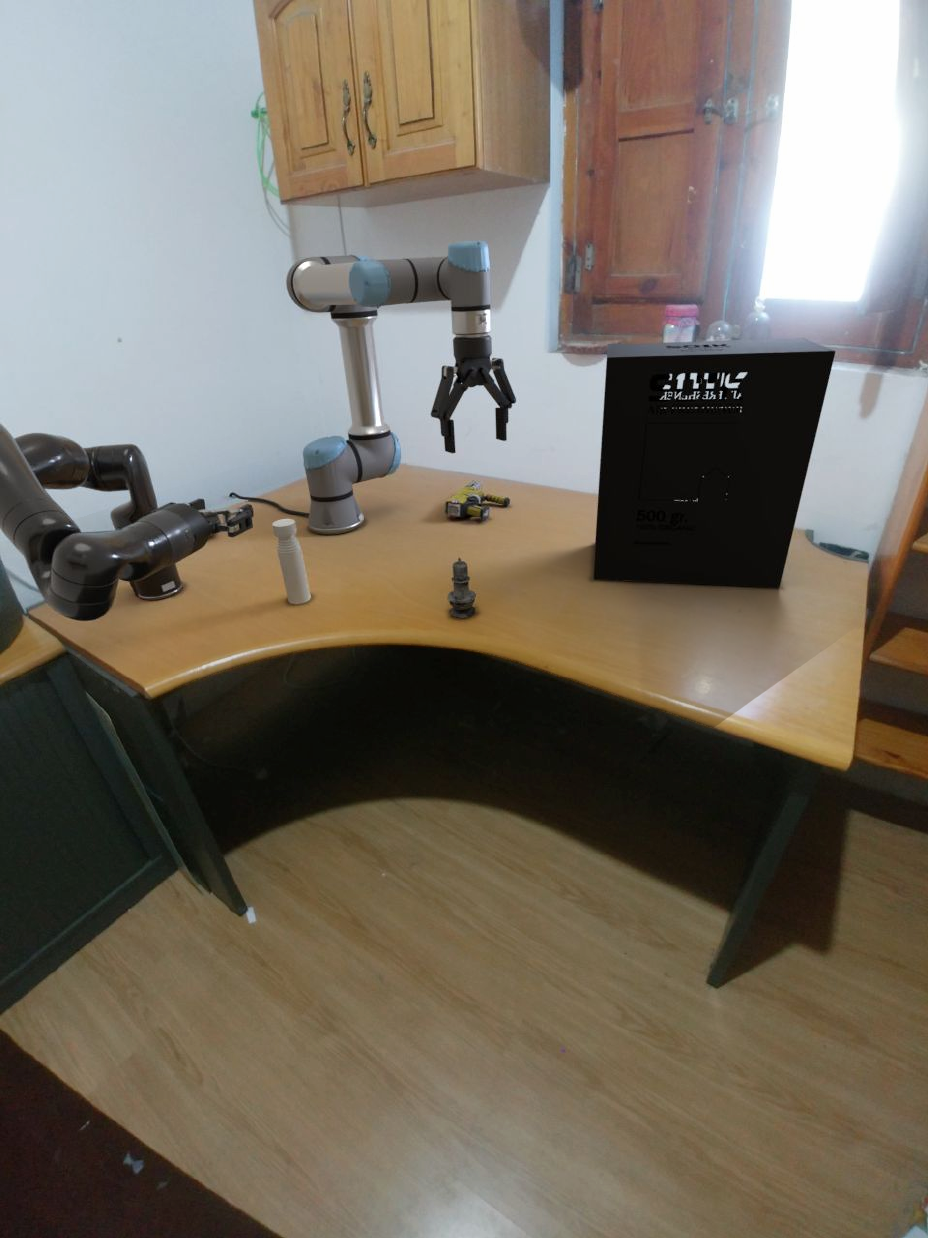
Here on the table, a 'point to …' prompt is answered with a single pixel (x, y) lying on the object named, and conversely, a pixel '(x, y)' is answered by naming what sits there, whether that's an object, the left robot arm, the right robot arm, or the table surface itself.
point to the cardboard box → (706, 459)
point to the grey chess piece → (461, 592)
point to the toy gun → (472, 502)
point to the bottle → (293, 570)
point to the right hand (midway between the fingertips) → (476, 445)
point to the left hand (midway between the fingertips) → (226, 507)
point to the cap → (284, 528)
